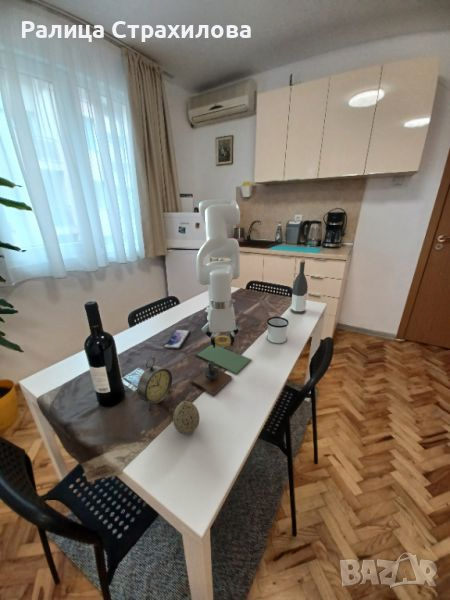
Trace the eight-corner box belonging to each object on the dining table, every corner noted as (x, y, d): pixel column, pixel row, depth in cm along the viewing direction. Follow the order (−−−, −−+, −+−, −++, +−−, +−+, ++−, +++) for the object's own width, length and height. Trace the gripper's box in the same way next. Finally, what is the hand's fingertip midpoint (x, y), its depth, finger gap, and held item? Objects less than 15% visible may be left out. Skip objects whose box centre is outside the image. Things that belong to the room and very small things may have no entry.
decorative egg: (200, 417, 70) (197, 391, 67) (200, 439, 64) (198, 411, 60) (175, 420, 70) (171, 394, 66) (173, 442, 63) (169, 415, 59)
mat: (196, 355, 99) (196, 354, 99) (212, 344, 106) (212, 343, 106) (236, 374, 88) (236, 372, 87) (250, 360, 95) (250, 359, 95)
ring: (211, 343, 93) (211, 340, 93) (221, 336, 98) (221, 333, 97) (224, 348, 89) (224, 345, 89) (234, 341, 94) (233, 338, 94)
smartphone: (163, 346, 104) (176, 329, 118) (164, 348, 105) (176, 331, 118) (179, 347, 103) (189, 330, 117) (179, 349, 103) (190, 331, 117)
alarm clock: (150, 415, 72) (141, 371, 66) (138, 407, 74) (128, 365, 68) (175, 391, 80) (169, 351, 74) (163, 386, 83) (157, 346, 77)
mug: (285, 346, 104) (286, 327, 100) (264, 342, 107) (264, 324, 104) (289, 333, 114) (291, 316, 110) (270, 329, 117) (271, 313, 114)
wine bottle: (293, 306, 142) (298, 256, 130) (307, 310, 137) (313, 258, 126) (288, 311, 136) (292, 259, 124) (302, 315, 131) (308, 261, 120)
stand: (192, 383, 84) (190, 364, 81) (210, 368, 91) (209, 350, 88) (214, 395, 78) (212, 376, 75) (231, 378, 85) (231, 360, 82)
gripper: (242, 297, 92) (242, 338, 99) (197, 301, 90) (200, 342, 97) (246, 305, 85) (246, 348, 92) (197, 309, 83) (201, 352, 90)
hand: (222, 344), depth 94 cm, fingers closed on ring, 6 cm apart
